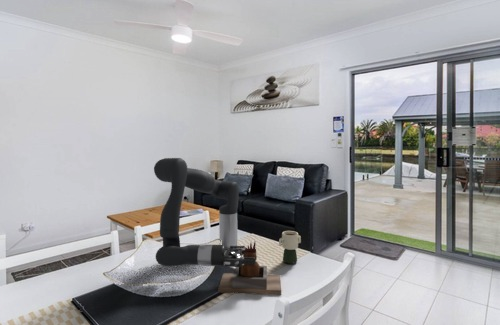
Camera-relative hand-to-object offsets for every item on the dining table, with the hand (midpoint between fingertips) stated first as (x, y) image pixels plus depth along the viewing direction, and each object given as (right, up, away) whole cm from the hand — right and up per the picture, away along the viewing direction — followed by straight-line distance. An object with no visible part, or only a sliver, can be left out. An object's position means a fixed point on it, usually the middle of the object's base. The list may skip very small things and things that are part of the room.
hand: (255, 256), depth 105 cm
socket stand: (-2, -11, +1) cm, 11 cm away
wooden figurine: (-2, -10, +1) cm, 10 cm away
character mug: (+16, -10, +22) cm, 28 cm away
